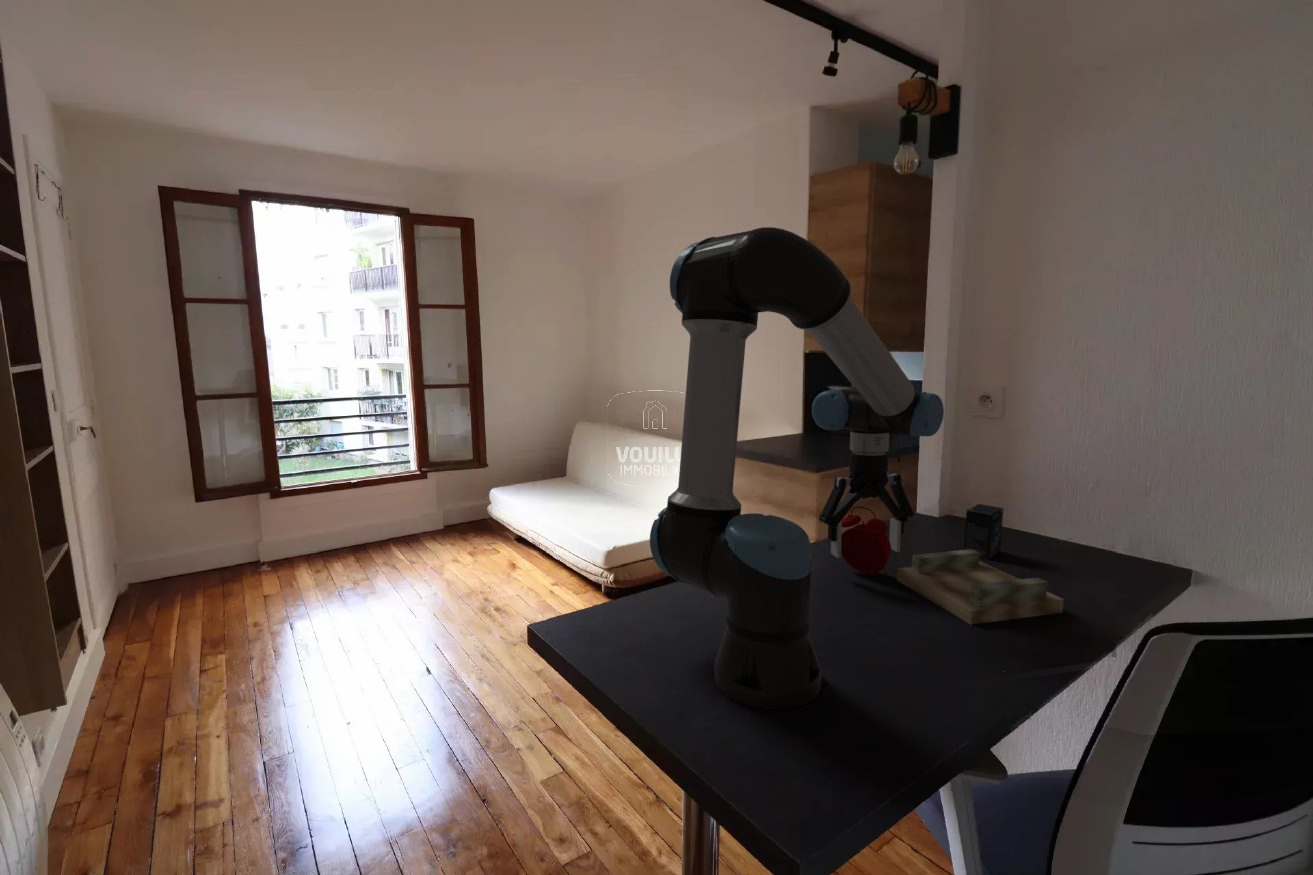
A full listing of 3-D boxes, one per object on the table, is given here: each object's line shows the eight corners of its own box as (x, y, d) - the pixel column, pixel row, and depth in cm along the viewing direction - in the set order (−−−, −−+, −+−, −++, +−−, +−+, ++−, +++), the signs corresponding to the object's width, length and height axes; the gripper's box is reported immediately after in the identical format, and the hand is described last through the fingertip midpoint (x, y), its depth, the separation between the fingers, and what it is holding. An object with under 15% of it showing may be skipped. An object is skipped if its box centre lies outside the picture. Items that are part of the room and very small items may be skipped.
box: (989, 560, 136) (992, 514, 134) (962, 554, 140) (965, 509, 138) (1001, 551, 141) (1004, 507, 140) (974, 546, 145) (977, 503, 144)
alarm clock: (895, 576, 127) (898, 506, 125) (882, 585, 122) (884, 512, 120) (848, 564, 134) (850, 498, 132) (834, 572, 130) (836, 503, 127)
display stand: (970, 624, 105) (972, 594, 104) (896, 580, 125) (897, 554, 124) (1062, 612, 109) (1065, 582, 108) (976, 571, 129) (978, 546, 128)
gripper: (821, 458, 118) (819, 564, 121) (934, 452, 124) (929, 553, 127) (804, 452, 125) (802, 552, 128) (911, 446, 131) (907, 542, 134)
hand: (865, 552), depth 128 cm, fingers open, 13 cm apart
